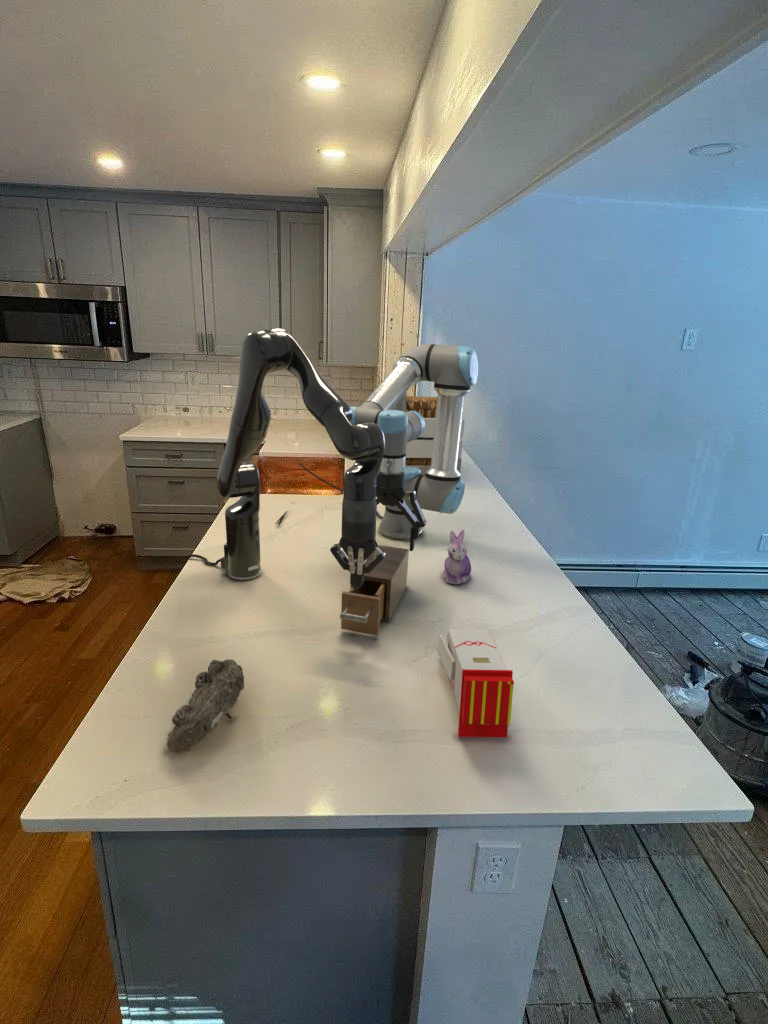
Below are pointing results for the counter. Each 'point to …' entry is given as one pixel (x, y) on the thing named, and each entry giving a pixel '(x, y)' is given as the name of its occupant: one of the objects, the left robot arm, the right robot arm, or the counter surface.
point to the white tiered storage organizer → (423, 445)
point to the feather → (281, 519)
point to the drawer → (364, 607)
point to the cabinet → (390, 576)
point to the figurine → (457, 560)
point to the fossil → (206, 705)
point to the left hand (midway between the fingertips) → (357, 587)
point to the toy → (478, 682)
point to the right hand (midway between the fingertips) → (387, 545)
